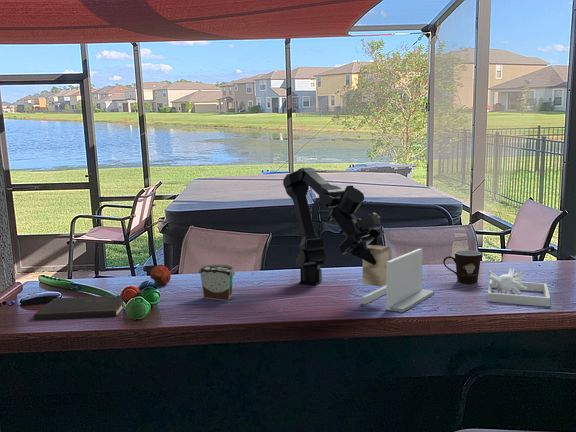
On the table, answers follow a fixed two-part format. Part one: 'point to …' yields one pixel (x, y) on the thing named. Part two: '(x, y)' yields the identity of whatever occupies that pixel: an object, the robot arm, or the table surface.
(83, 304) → the hardcover book
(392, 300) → the board
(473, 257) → the coffee mug
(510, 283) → the spiky ball
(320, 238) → the robot arm
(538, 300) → the white flat square tray
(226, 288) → the food container
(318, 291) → the table surface
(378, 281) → the beige upright block
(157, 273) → the pomegranate
